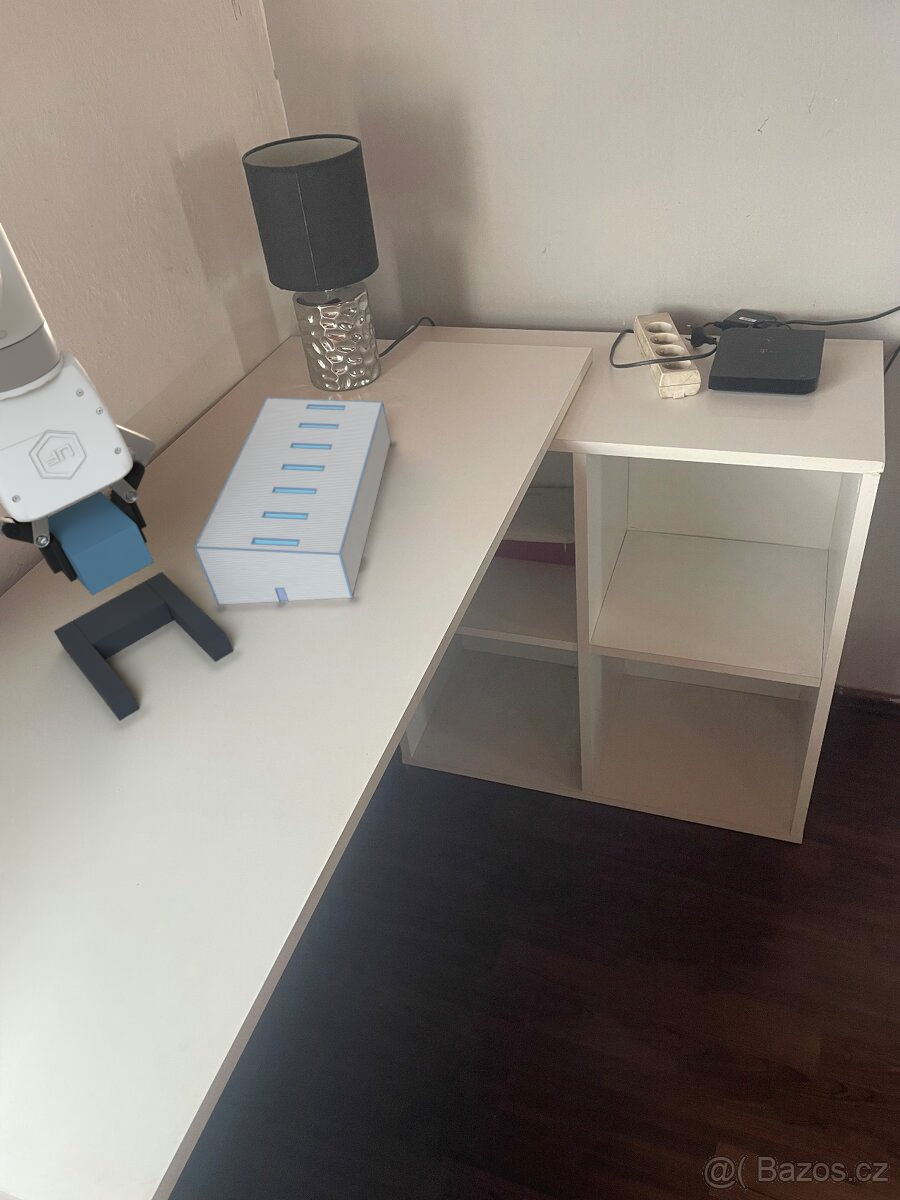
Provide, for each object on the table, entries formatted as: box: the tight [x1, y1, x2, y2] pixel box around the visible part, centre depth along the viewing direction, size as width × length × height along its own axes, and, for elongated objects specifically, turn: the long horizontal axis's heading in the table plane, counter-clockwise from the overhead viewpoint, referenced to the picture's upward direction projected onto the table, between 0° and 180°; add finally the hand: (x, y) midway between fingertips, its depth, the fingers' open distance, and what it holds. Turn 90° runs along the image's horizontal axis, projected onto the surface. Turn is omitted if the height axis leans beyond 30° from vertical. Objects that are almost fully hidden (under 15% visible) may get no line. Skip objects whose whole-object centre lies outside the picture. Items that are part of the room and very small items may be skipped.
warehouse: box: [193, 396, 392, 606], centre depth 97 cm, size 30×14×8 cm, turn 175°
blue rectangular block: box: [48, 490, 155, 596], centre depth 73 cm, size 6×8×4 cm
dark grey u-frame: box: [53, 571, 234, 721], centre depth 85 cm, size 12×14×2 cm
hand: (102, 553), depth 74 cm, fingers closed on blue rectangular block, 5 cm apart
